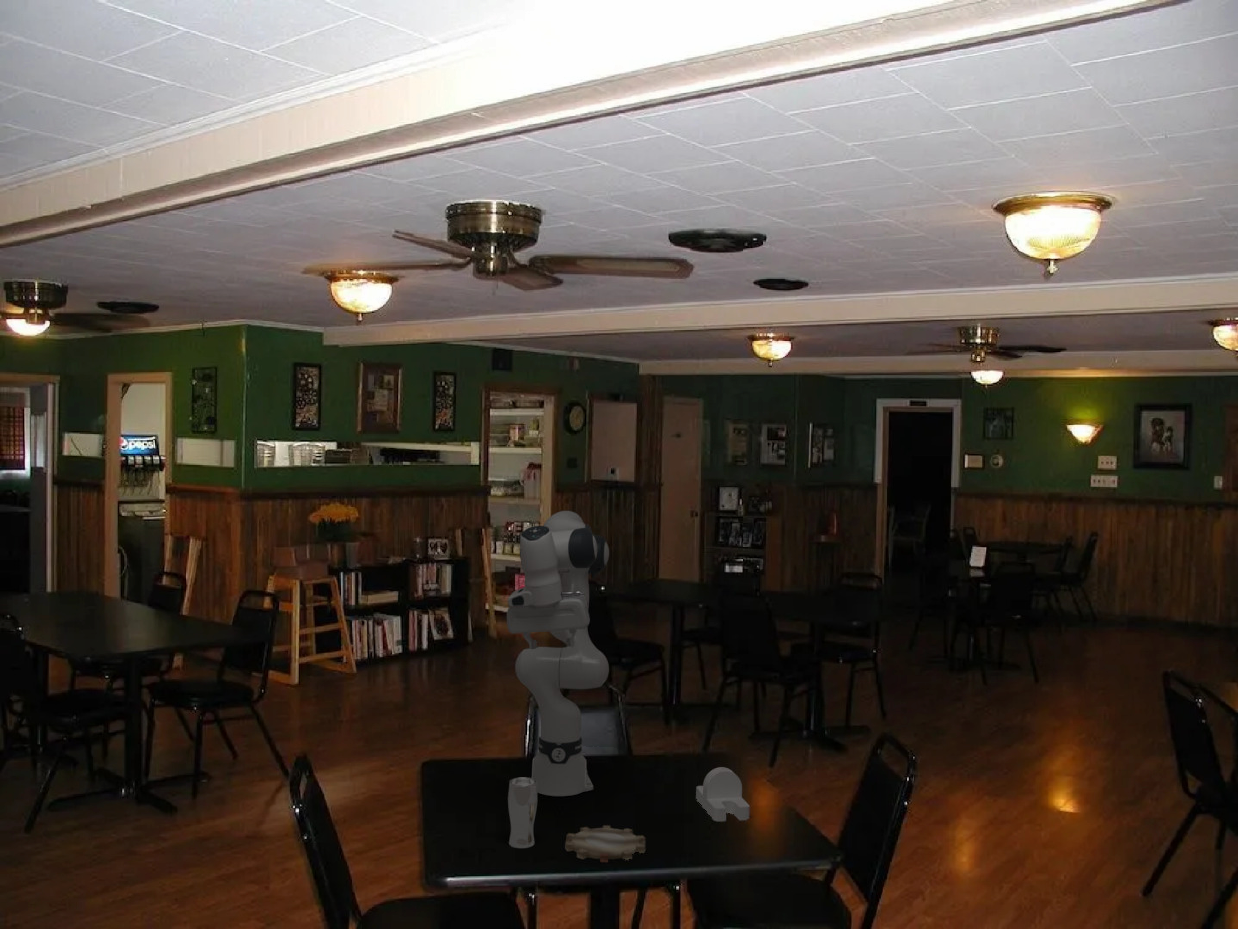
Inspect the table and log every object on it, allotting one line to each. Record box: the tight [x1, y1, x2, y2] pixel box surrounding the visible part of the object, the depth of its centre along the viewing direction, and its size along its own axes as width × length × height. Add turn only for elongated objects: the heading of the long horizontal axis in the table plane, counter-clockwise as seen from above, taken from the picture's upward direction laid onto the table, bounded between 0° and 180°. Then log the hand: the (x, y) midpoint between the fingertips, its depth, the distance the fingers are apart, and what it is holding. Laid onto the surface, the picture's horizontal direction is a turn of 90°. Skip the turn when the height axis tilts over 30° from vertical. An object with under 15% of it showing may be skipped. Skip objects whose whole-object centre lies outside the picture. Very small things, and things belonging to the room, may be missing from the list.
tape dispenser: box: [695, 766, 751, 822], centre depth 291 cm, size 10×18×11 cm, turn 12°
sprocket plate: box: [564, 824, 646, 863], centre depth 263 cm, size 19×19×2 cm
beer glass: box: [507, 776, 538, 849], centre depth 263 cm, size 7×7×15 cm
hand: (552, 647), depth 270 cm, fingers open, 8 cm apart
